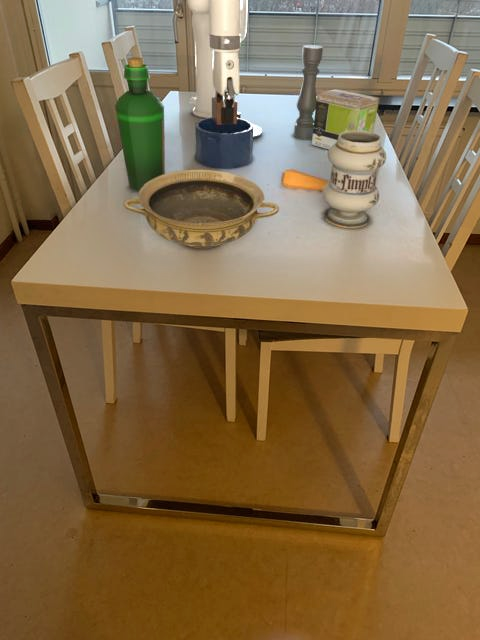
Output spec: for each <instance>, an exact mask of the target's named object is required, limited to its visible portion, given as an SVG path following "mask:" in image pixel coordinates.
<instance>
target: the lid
mask: <svg viewBox="0 0 480 640" xmlns="http://www.w3.org/2000/svg"><path fill="white" fill-rule="evenodd" d="M241 114H242V113H241V112H239V111H237V118H240V119H242V118H241ZM253 127H254V130H253V139H256V138H259V137H260V136H261V135H262V134H263V129H262V128H261V127H260V126H258V125H256V124H253Z"/></svg>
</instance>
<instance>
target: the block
mask: <svg viewBox="0 0 480 640" xmlns="http://www.w3.org/2000/svg"><path fill="white" fill-rule="evenodd" d="M226 99H228V97H226V98H225V102H226ZM221 108H223V105H222V97H212V120H213V121H214V122H215V123H216V124H217V125H225V124H222V123H221ZM237 112H238V101H237V100H236V99H234V122H233V124H237Z"/></svg>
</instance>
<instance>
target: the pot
mask: <svg viewBox="0 0 480 640" xmlns="http://www.w3.org/2000/svg"><path fill="white" fill-rule="evenodd" d="M253 125H254V123H252V122H250V121H249V120H247V119H244V118H237V124H225V125H217V124H216V123H215V122H214V121H213V120H212V117H211V118H203V119H199V120H198V121H196V122H195V123H194V131H195V132H194V135H195V137H194V139H195V160H196V161H197V163H199V164H201V165H203V166H206V167H209V168H215V169H236V168H240V167H244V166H247V165H248V164H250V163H252V159H253V149H254V138H253V130H254V127H253Z"/></svg>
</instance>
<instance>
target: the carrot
mask: <svg viewBox="0 0 480 640" xmlns="http://www.w3.org/2000/svg"><path fill="white" fill-rule="evenodd" d="M280 181H281V183H282V186H284V187H285V188H288V189H297V190H298V189H299V190H307V191H308V190H309V191H322V192H323V188H324V187H325V185H326V184H327V183H328V182H330V180H327V179H324V178H321V177H318V176H314V175H312V174H308V173H305V172H302V171H299V170H297V169H293V168H291V169H285V170H284V172H282V176H281V180H280Z"/></svg>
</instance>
